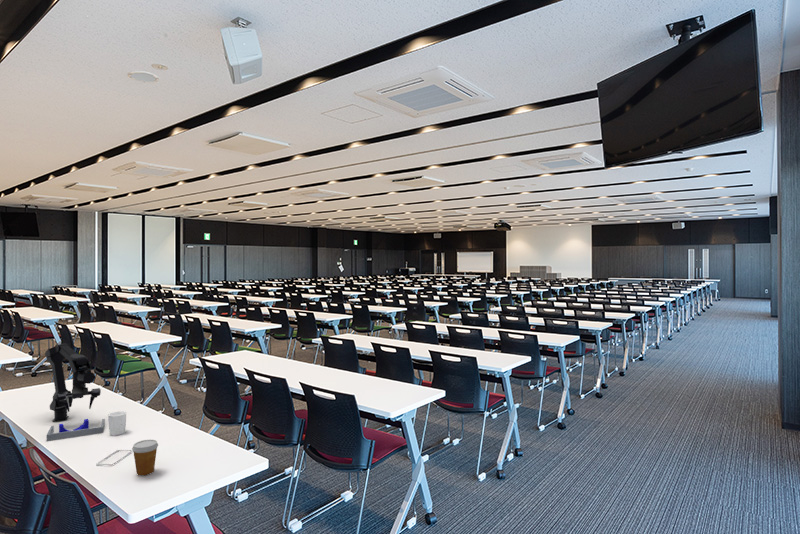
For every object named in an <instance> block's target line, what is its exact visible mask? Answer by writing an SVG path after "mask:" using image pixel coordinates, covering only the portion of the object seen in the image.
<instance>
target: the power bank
mask: <svg viewBox="0 0 800 534" xmlns="http://www.w3.org/2000/svg"><path fill="white" fill-rule="evenodd" d="M119 451H120V452H123V451H124V452H127V453H125V455H123V456H122V457H120V458H119V459H117V460H115V461H114V462H112V463H101V462H103V461H105V459H106V460H108V459H109V458H110V457H112V456H113V454H114V453H115V454H117V453H120V452H119ZM132 451H133V450H132V449H116V450H115V451H113V452H111V453H110V454H109V455H107V456H105V457H104V458H102V459H101V460H100V461H97V462H96V465H95V466H96V467H100V466H99V465H113V464H115V463H116V462H118V461H119V462H120V460H121V459H122V458H124V457H125V456H126V457H128V456H129V455H131V454H132V453H133V452H132ZM116 452H117V453H116ZM131 452H132V453H131ZM130 453H131V454H130ZM115 454H114V455H115ZM111 455H112V456H111ZM127 455H128V456H127ZM108 457H109V458H108ZM126 457H125V458H126ZM125 458H124V459H125ZM122 460H123V459H122ZM122 460H121V461H122ZM119 462H118V463H119ZM116 464H117V463H116ZM116 464H115V465H116ZM113 466H114V465H113Z"/></svg>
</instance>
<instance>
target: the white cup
mask: <svg viewBox="0 0 800 534" xmlns="http://www.w3.org/2000/svg"><path fill="white" fill-rule="evenodd" d="M107 416H108V417H107V419H108V420H107V421H108V429H109V431H108V432H109V436H114V437H116V436H121V435H123V434H125V433H126V426H127V411H124V410H118V411H112V412H109V414H108V415H107Z"/></svg>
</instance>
